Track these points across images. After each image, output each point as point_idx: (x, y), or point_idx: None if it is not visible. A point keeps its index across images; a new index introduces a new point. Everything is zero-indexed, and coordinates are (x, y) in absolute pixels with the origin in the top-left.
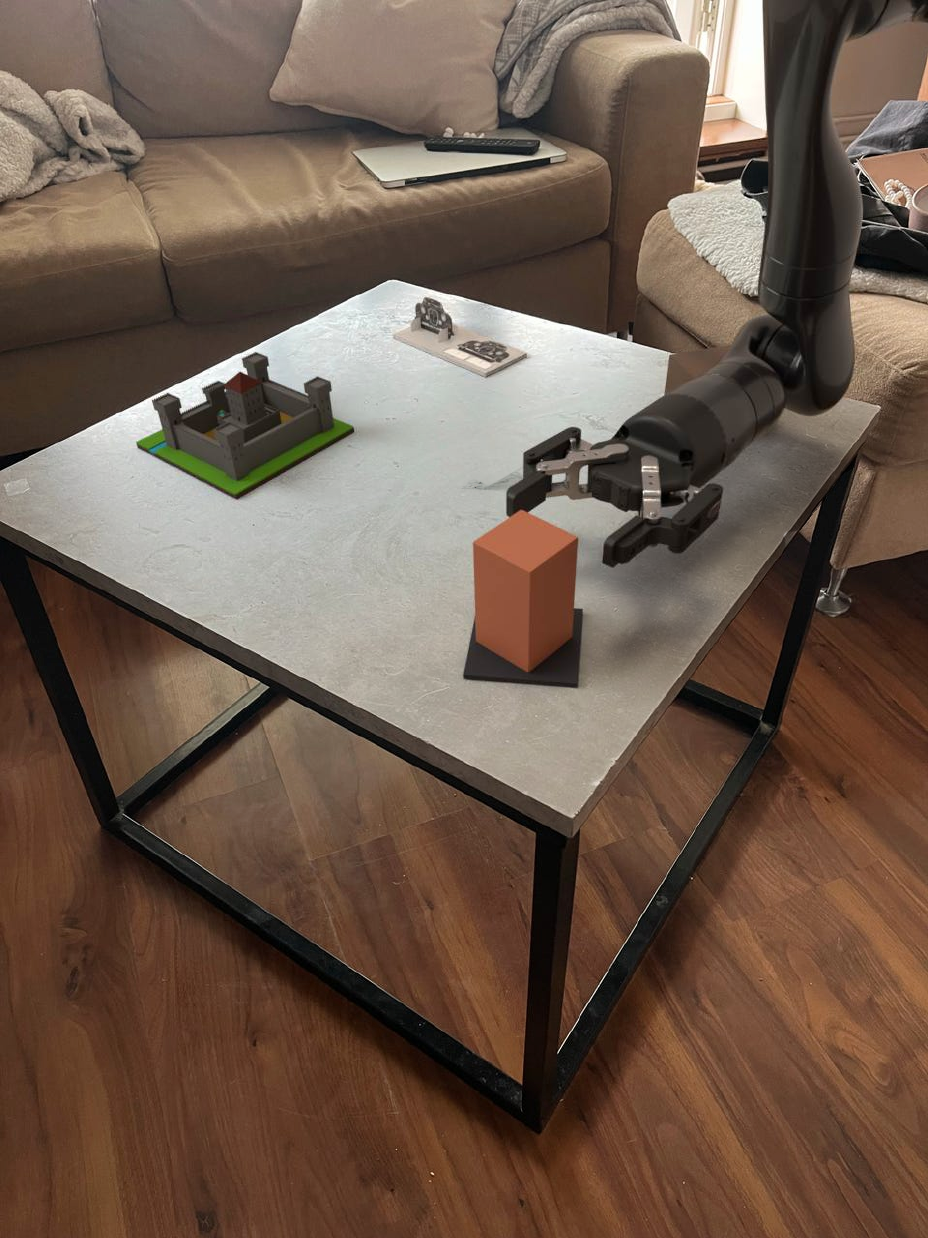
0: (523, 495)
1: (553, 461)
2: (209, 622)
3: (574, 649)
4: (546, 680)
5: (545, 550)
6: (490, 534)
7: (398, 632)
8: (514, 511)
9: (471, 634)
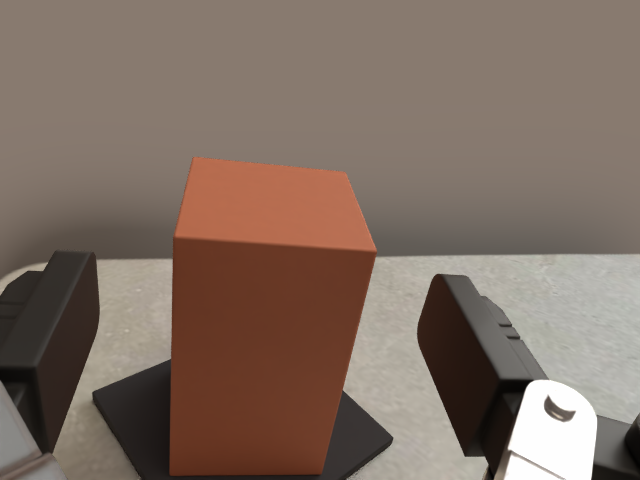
0: (446, 310)
1: (583, 449)
2: (540, 257)
3: (145, 452)
4: (148, 369)
5: (210, 189)
6: (342, 189)
7: (409, 338)
8: (424, 311)
9: None
